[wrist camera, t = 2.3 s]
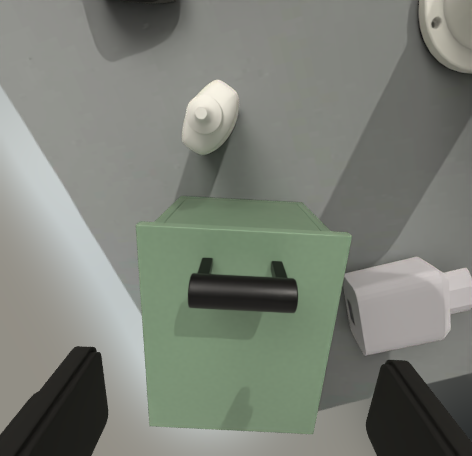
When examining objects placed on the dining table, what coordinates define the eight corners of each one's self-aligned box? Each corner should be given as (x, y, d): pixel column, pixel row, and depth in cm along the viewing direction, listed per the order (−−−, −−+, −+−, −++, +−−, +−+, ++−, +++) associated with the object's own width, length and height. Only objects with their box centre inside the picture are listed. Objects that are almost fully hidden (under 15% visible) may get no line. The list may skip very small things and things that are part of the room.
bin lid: (139, 221, 18) (100, 252, 13) (347, 231, 18) (389, 267, 13) (152, 417, 23) (128, 492, 18) (310, 424, 23) (330, 502, 18)
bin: (180, 195, 30) (140, 233, 18) (302, 202, 30) (345, 244, 18) (182, 321, 35) (152, 416, 23) (286, 326, 35) (310, 424, 23)
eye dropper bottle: (250, 130, 28) (258, 123, 16) (204, 156, 29) (181, 167, 17) (230, 88, 27) (223, 50, 15) (182, 118, 27) (142, 102, 16)
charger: (469, 306, 34) (350, 332, 35) (468, 240, 31) (339, 271, 33) (504, 332, 29) (366, 360, 31) (507, 257, 27) (355, 292, 28)
